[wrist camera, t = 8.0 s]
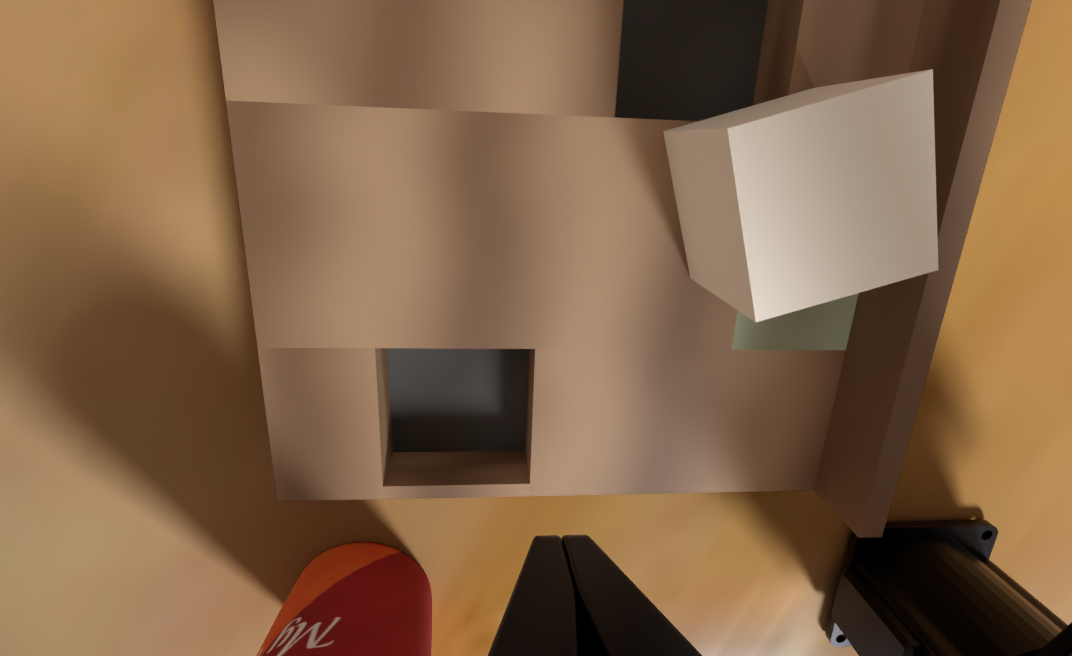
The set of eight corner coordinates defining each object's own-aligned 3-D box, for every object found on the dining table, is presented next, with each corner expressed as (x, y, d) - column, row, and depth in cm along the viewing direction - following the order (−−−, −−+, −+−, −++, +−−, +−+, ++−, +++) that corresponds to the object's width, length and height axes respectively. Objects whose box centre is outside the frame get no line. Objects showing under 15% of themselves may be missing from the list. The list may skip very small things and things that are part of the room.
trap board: (908, -57, 17) (1068, -131, 13) (799, 455, 23) (881, 537, 18) (236, -109, 15) (126, -219, 11) (299, 462, 21) (246, 555, 16)
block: (814, 87, 16) (932, 69, 12) (828, 238, 18) (938, 269, 13) (663, 131, 16) (727, 128, 12) (690, 278, 18) (756, 322, 13)
